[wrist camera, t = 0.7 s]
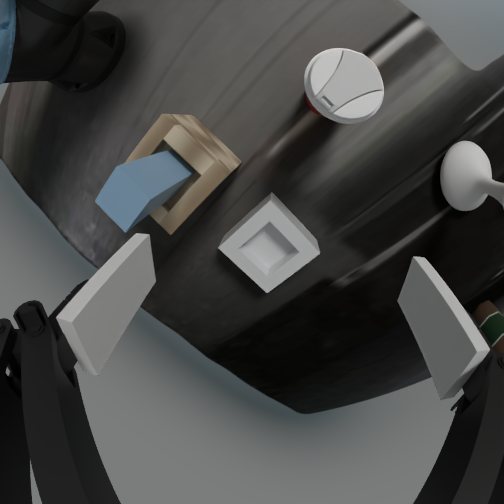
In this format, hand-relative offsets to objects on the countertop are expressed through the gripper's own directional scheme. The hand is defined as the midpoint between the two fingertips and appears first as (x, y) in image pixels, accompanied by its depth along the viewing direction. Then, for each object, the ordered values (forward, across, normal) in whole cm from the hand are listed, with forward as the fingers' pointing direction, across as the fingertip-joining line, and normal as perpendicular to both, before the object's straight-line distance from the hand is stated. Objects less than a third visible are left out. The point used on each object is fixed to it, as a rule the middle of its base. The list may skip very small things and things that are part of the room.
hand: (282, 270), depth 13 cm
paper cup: (+28, +6, +11) cm, 30 cm away
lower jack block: (+27, -1, -11) cm, 29 cm away
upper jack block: (+28, -12, 0) cm, 30 cm away
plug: (+20, -13, 0) cm, 23 cm away
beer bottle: (+26, +49, -24) cm, 60 cm away
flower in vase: (+27, +30, +4) cm, 41 cm away
